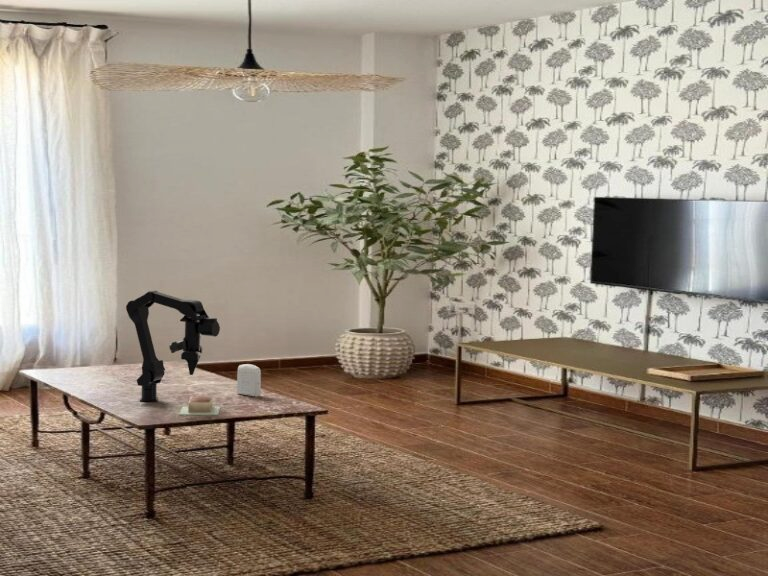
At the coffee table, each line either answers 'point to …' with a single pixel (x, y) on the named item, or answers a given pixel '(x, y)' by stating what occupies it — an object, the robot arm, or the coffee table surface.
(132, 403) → the coffee table surface
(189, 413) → the mat
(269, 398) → the coffee table surface
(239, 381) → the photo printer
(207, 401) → the birch tile
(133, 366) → the coffee table surface
